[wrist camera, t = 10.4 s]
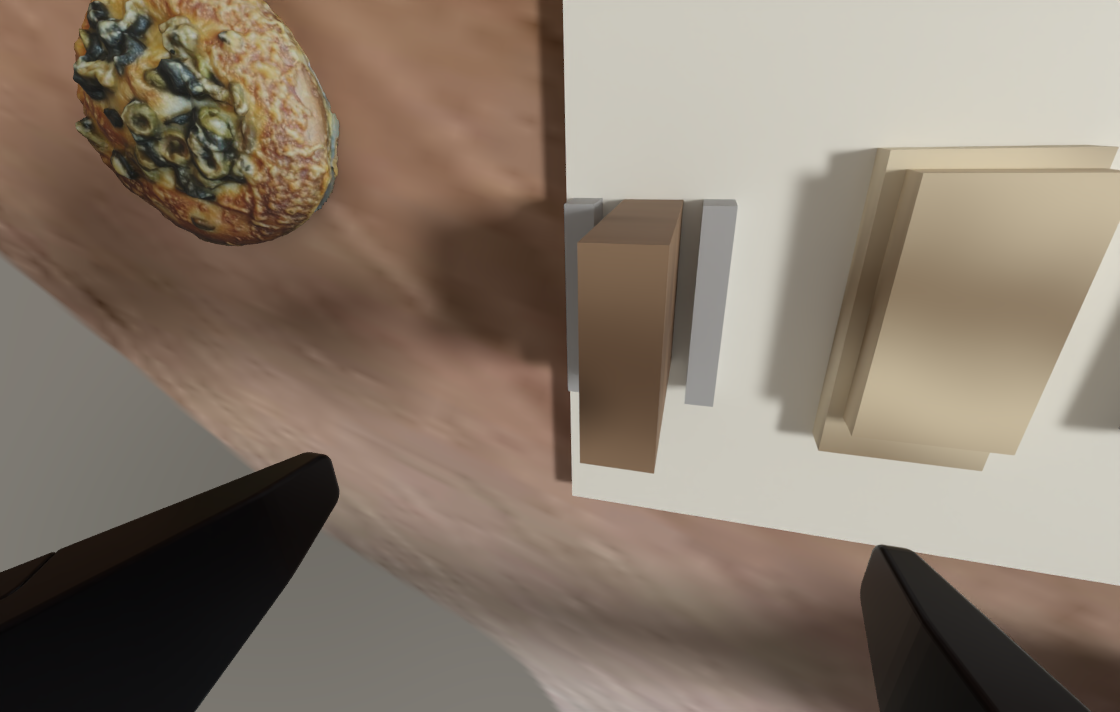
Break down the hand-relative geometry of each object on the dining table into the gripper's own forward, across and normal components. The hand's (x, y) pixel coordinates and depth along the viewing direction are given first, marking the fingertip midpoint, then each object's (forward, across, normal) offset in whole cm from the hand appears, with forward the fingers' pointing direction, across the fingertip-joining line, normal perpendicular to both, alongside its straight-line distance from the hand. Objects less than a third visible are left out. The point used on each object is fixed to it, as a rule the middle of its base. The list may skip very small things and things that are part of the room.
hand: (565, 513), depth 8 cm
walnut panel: (+12, 0, 0) cm, 12 cm away
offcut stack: (+12, -9, 0) cm, 15 cm away
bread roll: (+13, +18, -7) cm, 23 cm away
